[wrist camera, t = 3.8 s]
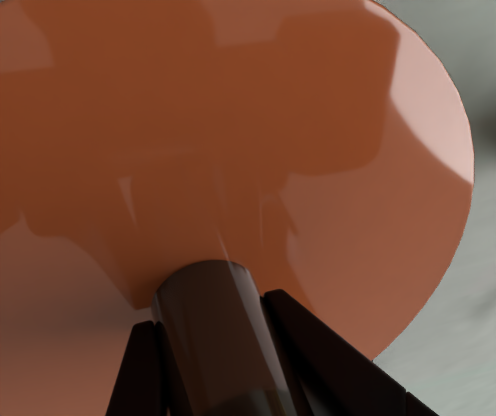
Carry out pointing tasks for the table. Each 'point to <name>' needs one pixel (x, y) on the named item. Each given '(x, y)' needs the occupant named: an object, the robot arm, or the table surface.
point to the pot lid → (215, 192)
